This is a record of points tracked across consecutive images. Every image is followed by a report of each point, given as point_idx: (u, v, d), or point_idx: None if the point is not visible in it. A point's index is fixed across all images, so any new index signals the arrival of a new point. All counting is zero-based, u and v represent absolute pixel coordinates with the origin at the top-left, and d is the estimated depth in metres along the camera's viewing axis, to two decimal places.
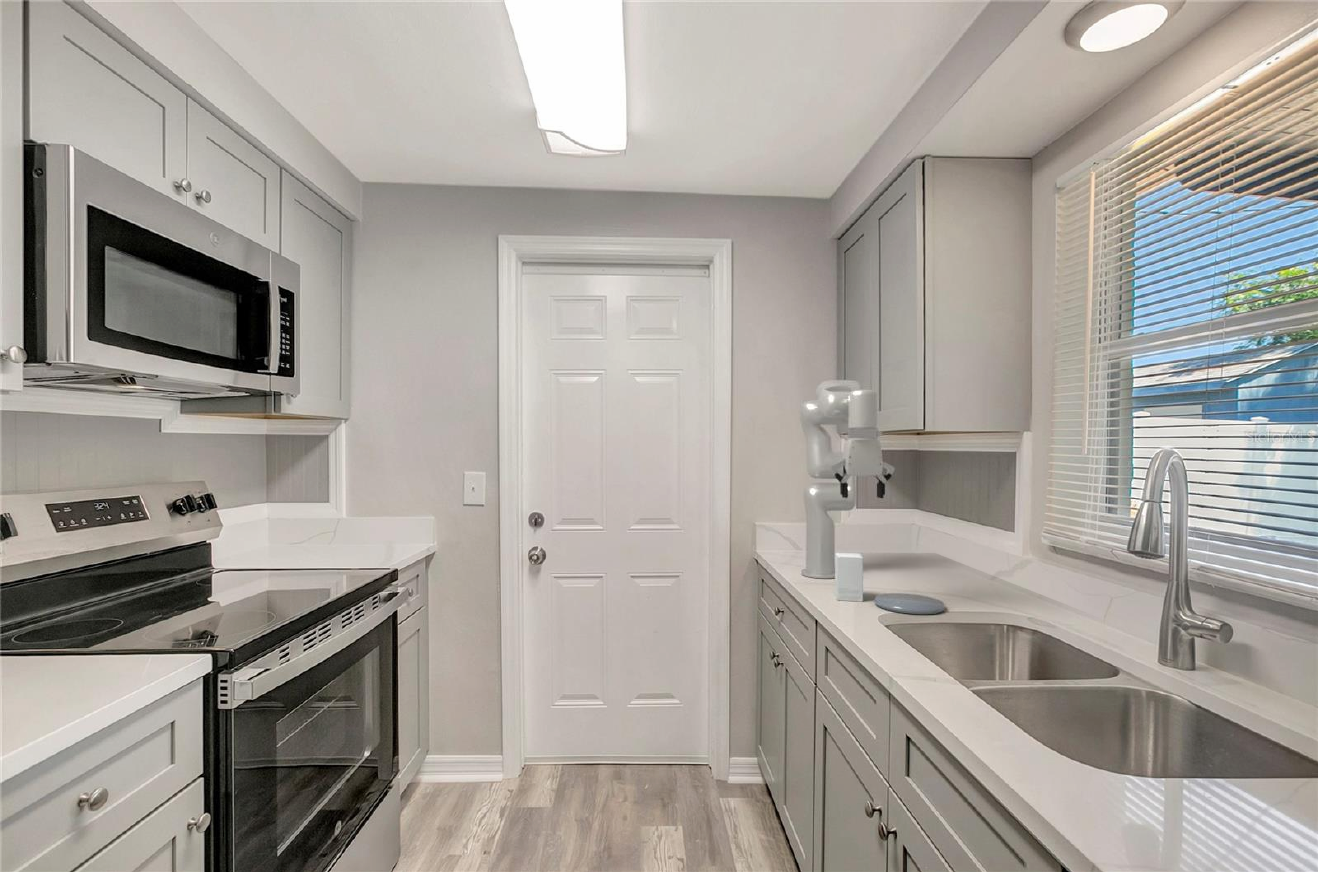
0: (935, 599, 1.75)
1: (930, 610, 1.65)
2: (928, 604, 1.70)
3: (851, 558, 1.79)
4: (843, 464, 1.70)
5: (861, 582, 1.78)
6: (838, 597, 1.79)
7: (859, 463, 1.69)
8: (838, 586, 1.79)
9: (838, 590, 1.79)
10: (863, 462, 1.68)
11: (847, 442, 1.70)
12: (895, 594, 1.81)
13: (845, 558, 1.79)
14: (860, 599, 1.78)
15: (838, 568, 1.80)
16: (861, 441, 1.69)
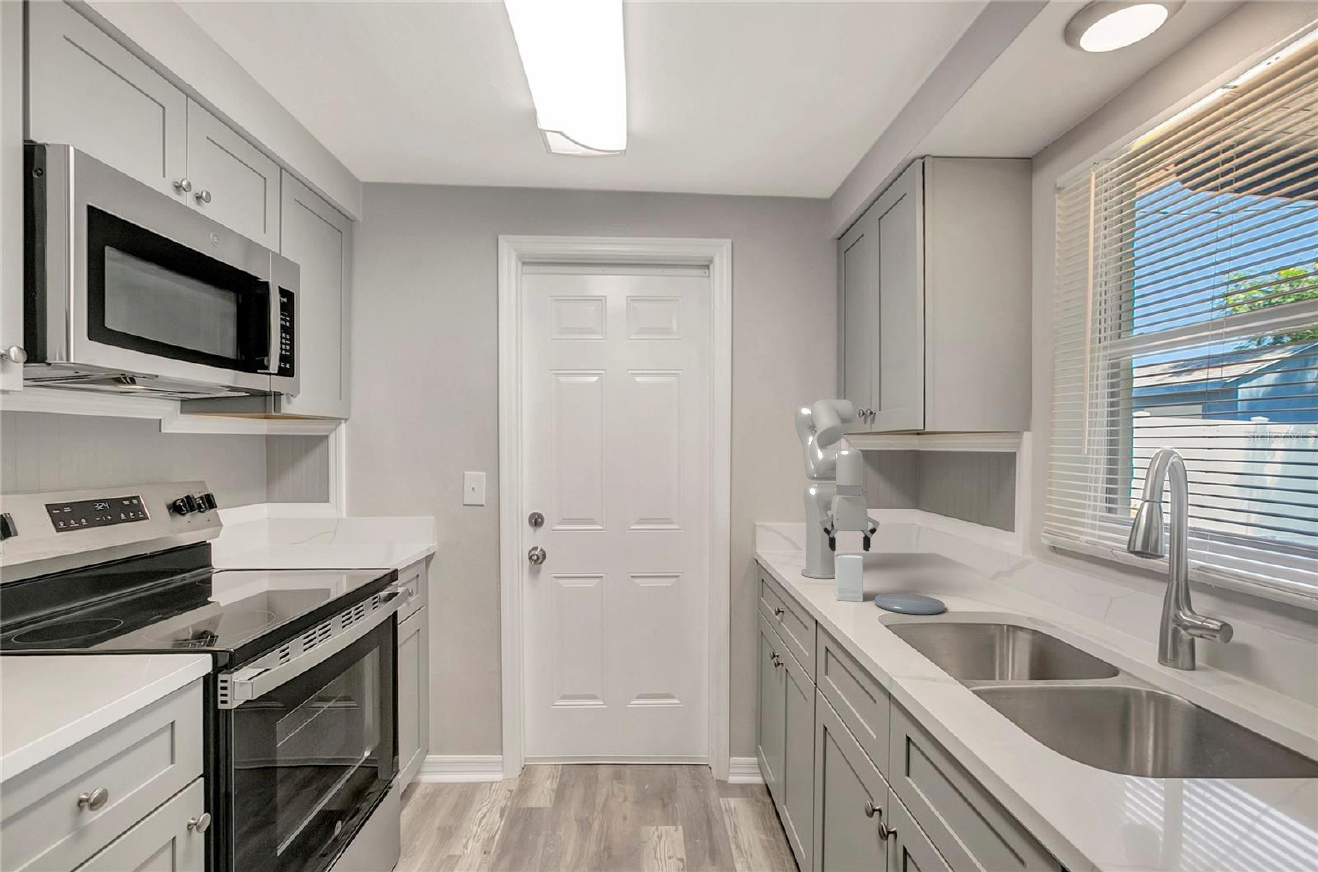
0: (935, 599, 1.75)
1: (930, 610, 1.65)
2: (928, 604, 1.70)
3: (851, 558, 1.79)
4: (831, 519, 1.82)
5: (861, 582, 1.78)
6: (838, 597, 1.79)
7: (846, 518, 1.80)
8: (838, 586, 1.79)
9: (838, 590, 1.79)
10: (850, 518, 1.80)
11: (834, 498, 1.82)
12: (895, 594, 1.81)
13: (845, 558, 1.79)
14: (860, 599, 1.78)
15: (838, 568, 1.80)
16: (848, 498, 1.80)
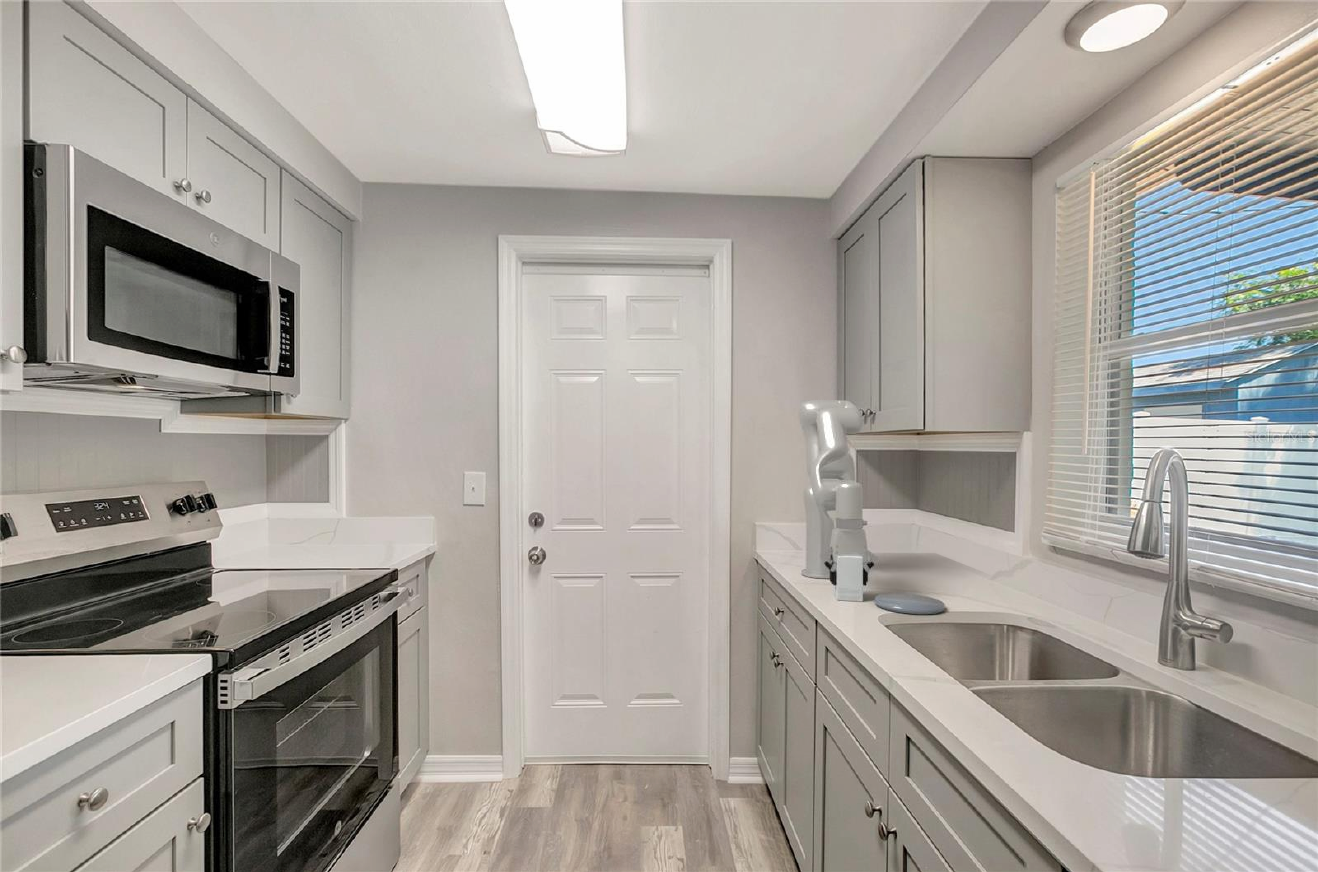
0: (935, 599, 1.75)
1: (930, 610, 1.65)
2: (928, 604, 1.70)
3: (851, 558, 1.79)
4: (831, 553, 1.82)
5: (861, 582, 1.78)
6: (838, 597, 1.79)
7: (846, 552, 1.80)
8: (838, 586, 1.79)
9: (838, 590, 1.79)
10: (849, 551, 1.80)
11: (834, 531, 1.82)
12: (895, 594, 1.81)
13: (845, 558, 1.79)
14: (860, 599, 1.78)
15: (838, 568, 1.80)
16: (847, 531, 1.80)
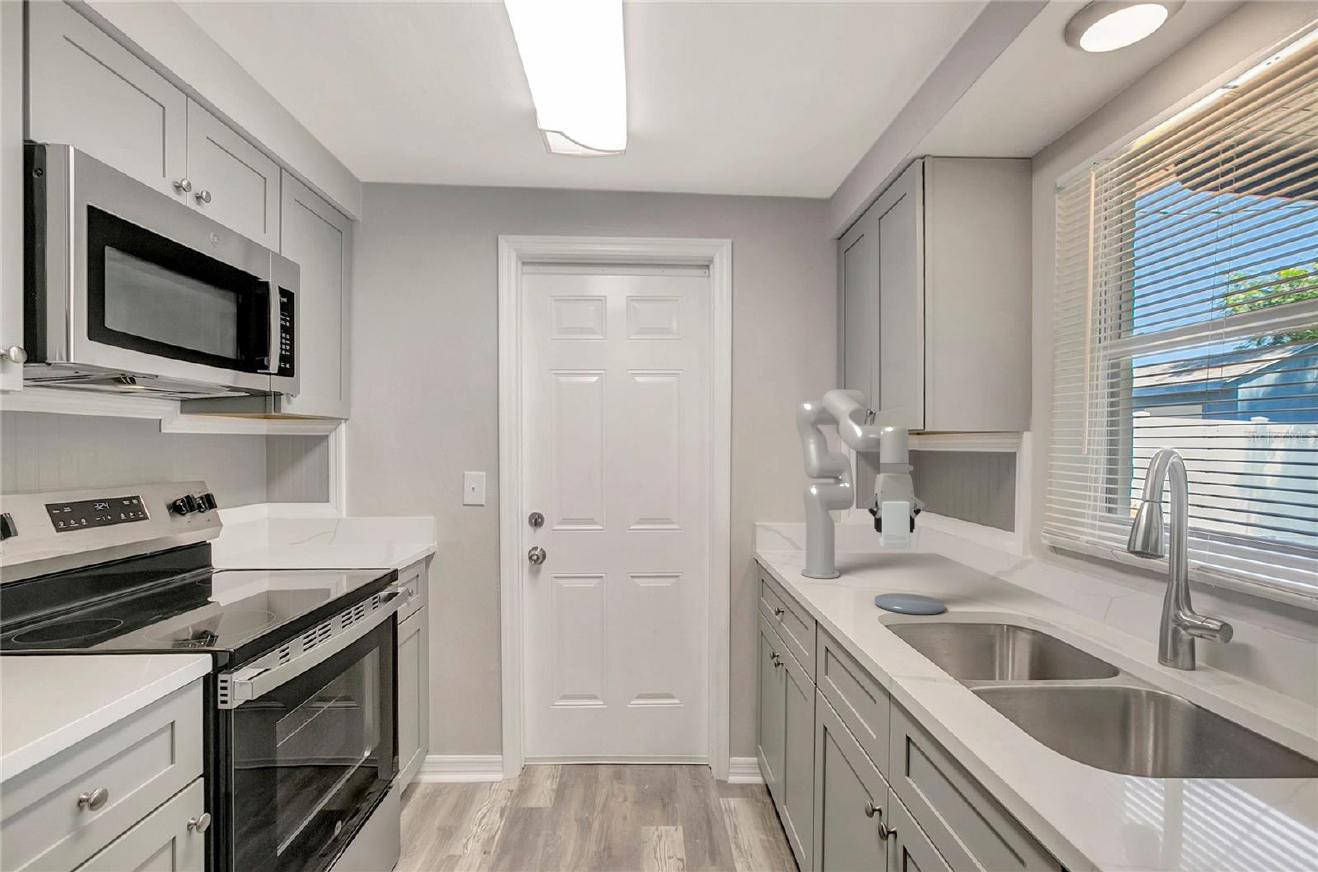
0: (935, 599, 1.75)
1: (930, 610, 1.65)
2: (928, 604, 1.70)
3: (897, 503, 1.72)
4: (876, 499, 1.75)
5: (908, 528, 1.72)
6: (884, 544, 1.73)
7: (891, 497, 1.73)
8: (884, 533, 1.73)
9: (884, 537, 1.73)
10: (895, 496, 1.73)
11: (879, 476, 1.75)
12: (895, 594, 1.81)
13: (891, 503, 1.73)
14: (907, 545, 1.71)
15: (883, 514, 1.73)
16: (893, 476, 1.74)
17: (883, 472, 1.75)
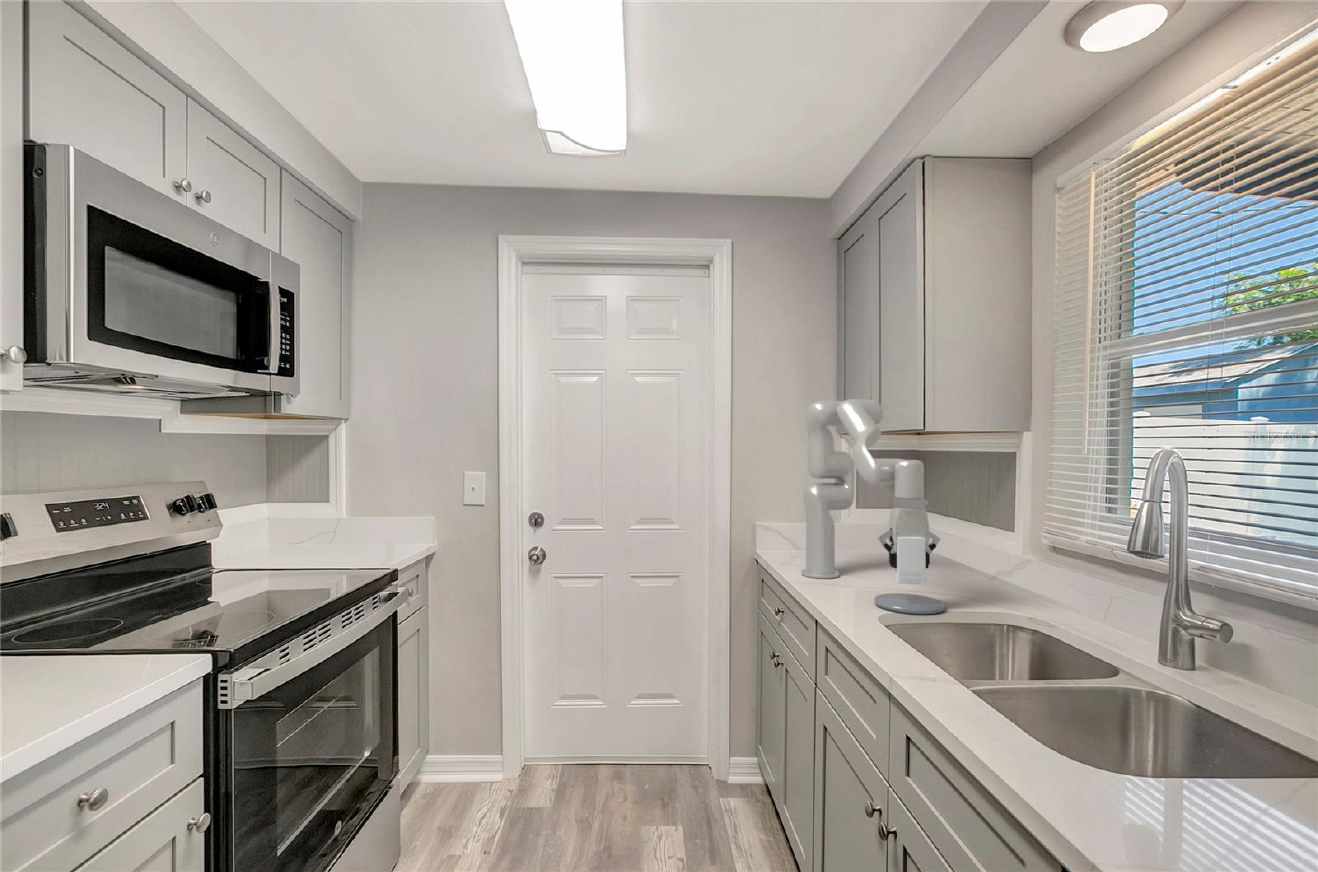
0: (935, 599, 1.75)
1: (930, 610, 1.65)
2: (928, 604, 1.70)
3: (913, 539, 1.70)
4: (891, 534, 1.73)
5: (924, 564, 1.69)
6: (899, 580, 1.70)
7: (907, 532, 1.71)
8: (899, 568, 1.70)
9: (899, 573, 1.70)
10: (910, 532, 1.71)
11: (894, 511, 1.73)
12: (895, 594, 1.81)
13: (906, 539, 1.70)
14: (922, 582, 1.69)
15: (899, 550, 1.71)
16: (908, 511, 1.71)
17: (898, 507, 1.72)
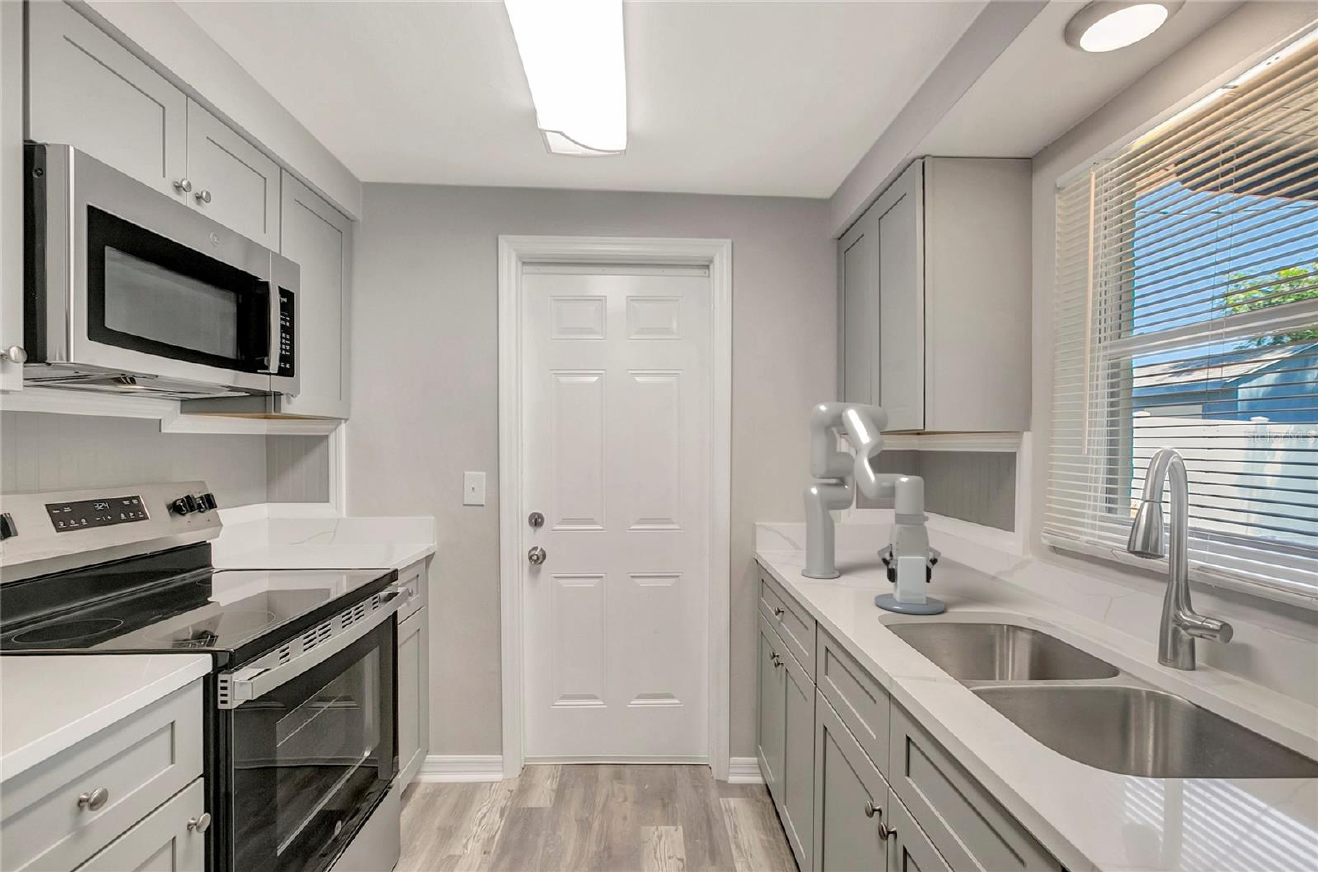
0: (935, 599, 1.75)
1: (930, 610, 1.65)
2: (928, 604, 1.70)
3: (913, 559, 1.70)
4: (890, 549, 1.73)
5: (924, 584, 1.70)
6: (900, 600, 1.71)
7: (907, 549, 1.71)
8: (900, 588, 1.71)
9: (900, 592, 1.71)
10: (910, 548, 1.71)
11: (894, 527, 1.73)
12: None
13: (907, 559, 1.70)
14: (923, 601, 1.70)
15: (900, 569, 1.71)
16: (908, 527, 1.71)
17: (898, 523, 1.72)
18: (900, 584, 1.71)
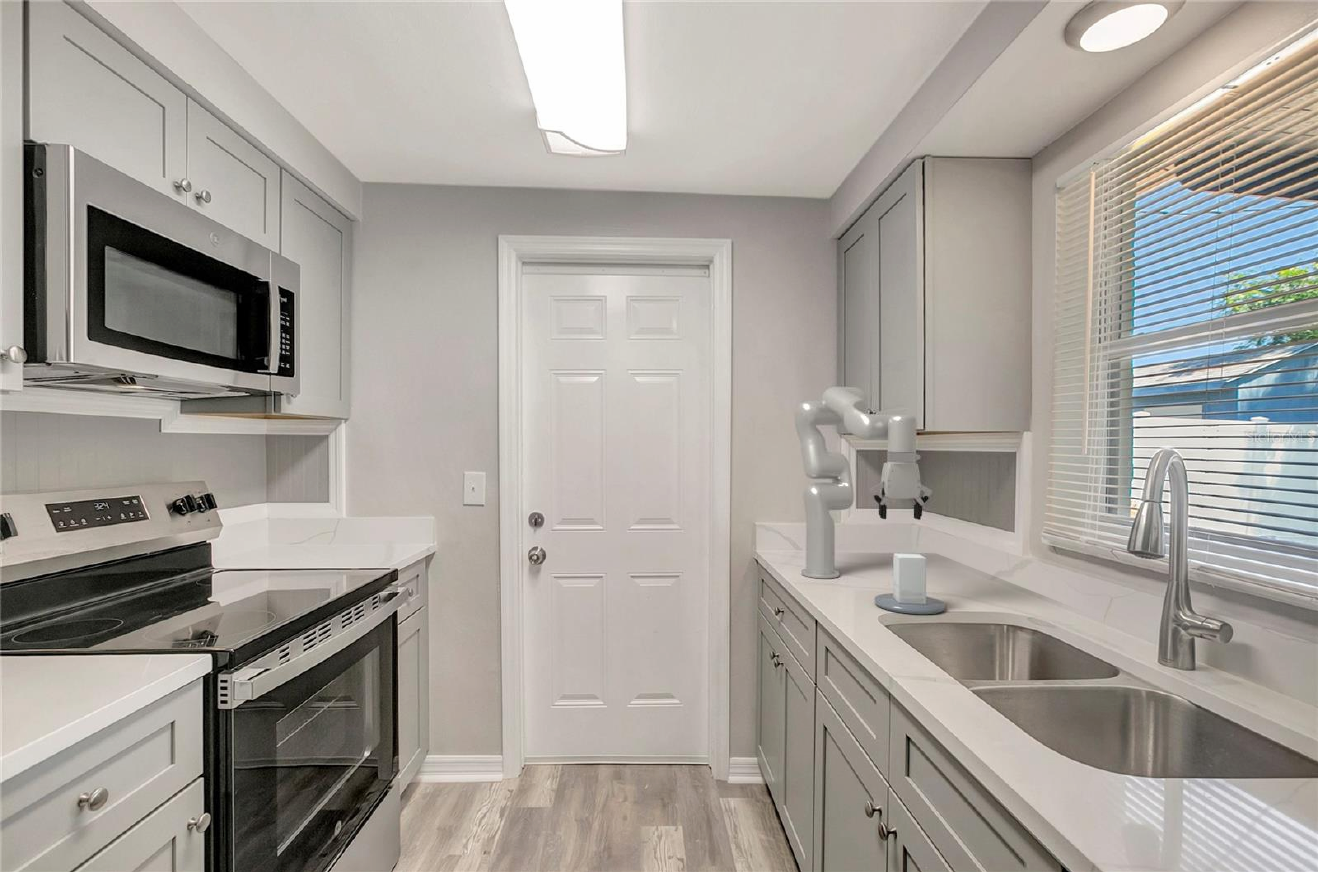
0: (935, 599, 1.75)
1: (930, 610, 1.65)
2: (928, 604, 1.70)
3: (913, 559, 1.70)
4: (882, 486, 1.77)
5: (924, 584, 1.70)
6: (900, 600, 1.71)
7: (898, 486, 1.75)
8: (900, 588, 1.71)
9: (900, 592, 1.71)
10: (902, 485, 1.75)
11: (886, 465, 1.76)
12: None
13: (907, 559, 1.70)
14: (923, 601, 1.70)
15: (900, 569, 1.71)
16: (900, 465, 1.75)
17: (890, 461, 1.76)
18: (900, 584, 1.71)
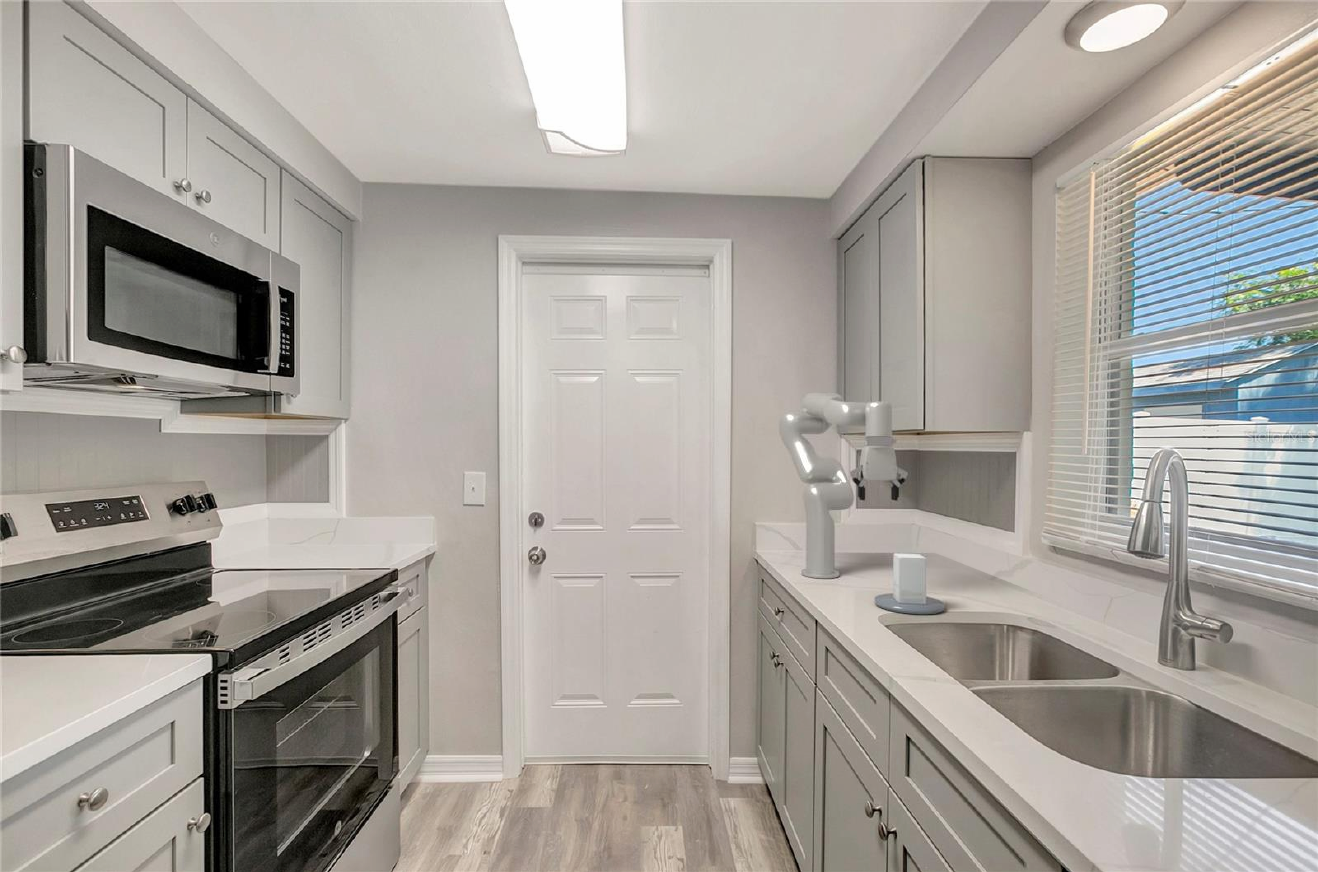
0: (935, 599, 1.75)
1: (930, 610, 1.65)
2: (928, 604, 1.70)
3: (913, 559, 1.70)
4: (861, 469, 1.86)
5: (924, 584, 1.70)
6: (900, 600, 1.71)
7: (876, 468, 1.84)
8: (900, 588, 1.71)
9: (900, 592, 1.71)
10: (879, 468, 1.84)
11: (864, 449, 1.86)
12: None
13: (907, 559, 1.70)
14: (923, 601, 1.70)
15: (900, 569, 1.71)
16: (877, 448, 1.84)
17: (868, 445, 1.86)
18: (900, 584, 1.71)
